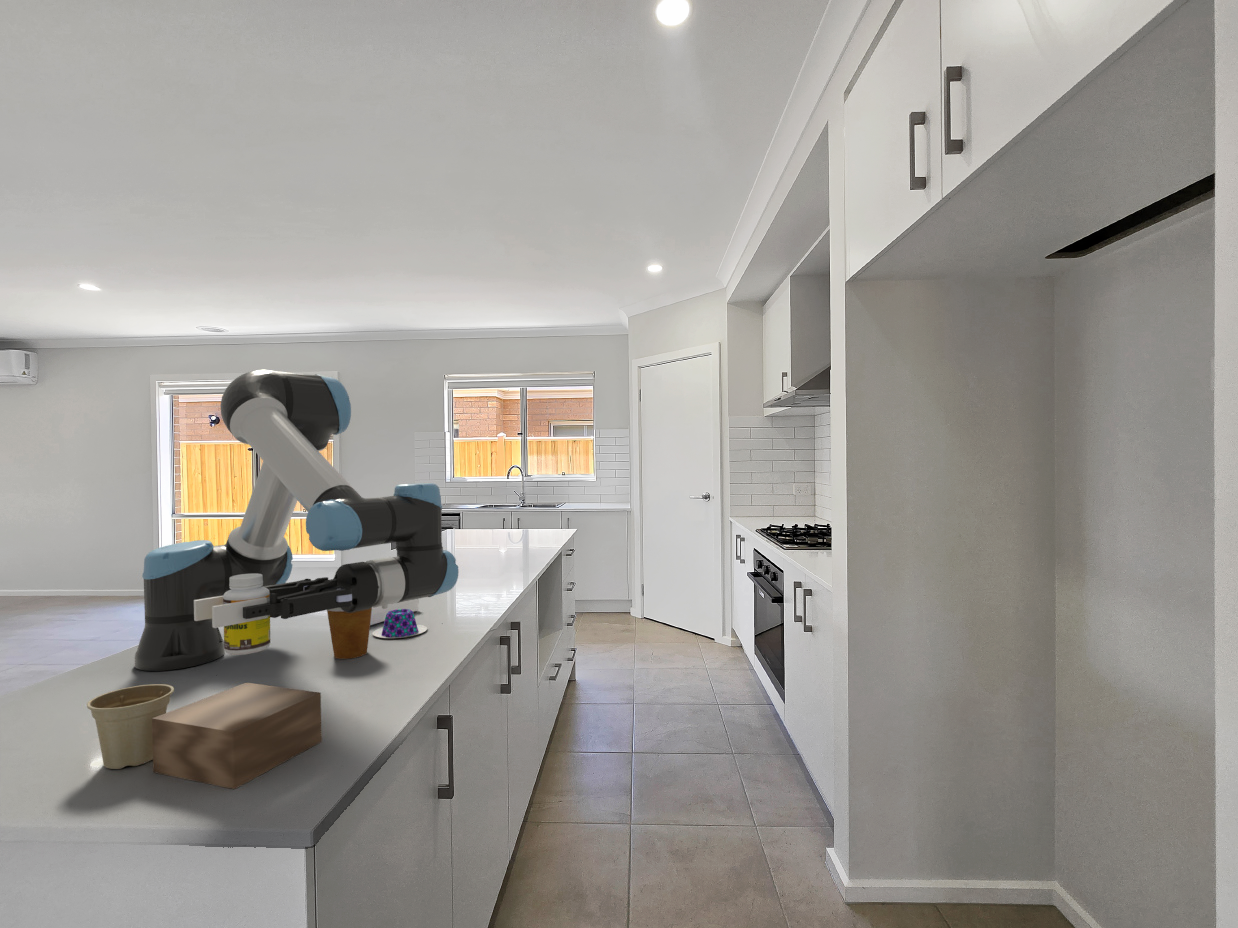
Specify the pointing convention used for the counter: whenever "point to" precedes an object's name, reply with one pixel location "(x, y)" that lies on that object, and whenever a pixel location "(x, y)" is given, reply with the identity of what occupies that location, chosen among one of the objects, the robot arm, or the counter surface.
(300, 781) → the counter surface
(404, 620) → the pudding
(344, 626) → the disposable coffee cup
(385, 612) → the white rectangular box
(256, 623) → the supplement bottle
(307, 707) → the block
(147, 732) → the flower pot
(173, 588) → the robot arm
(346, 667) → the counter surface
